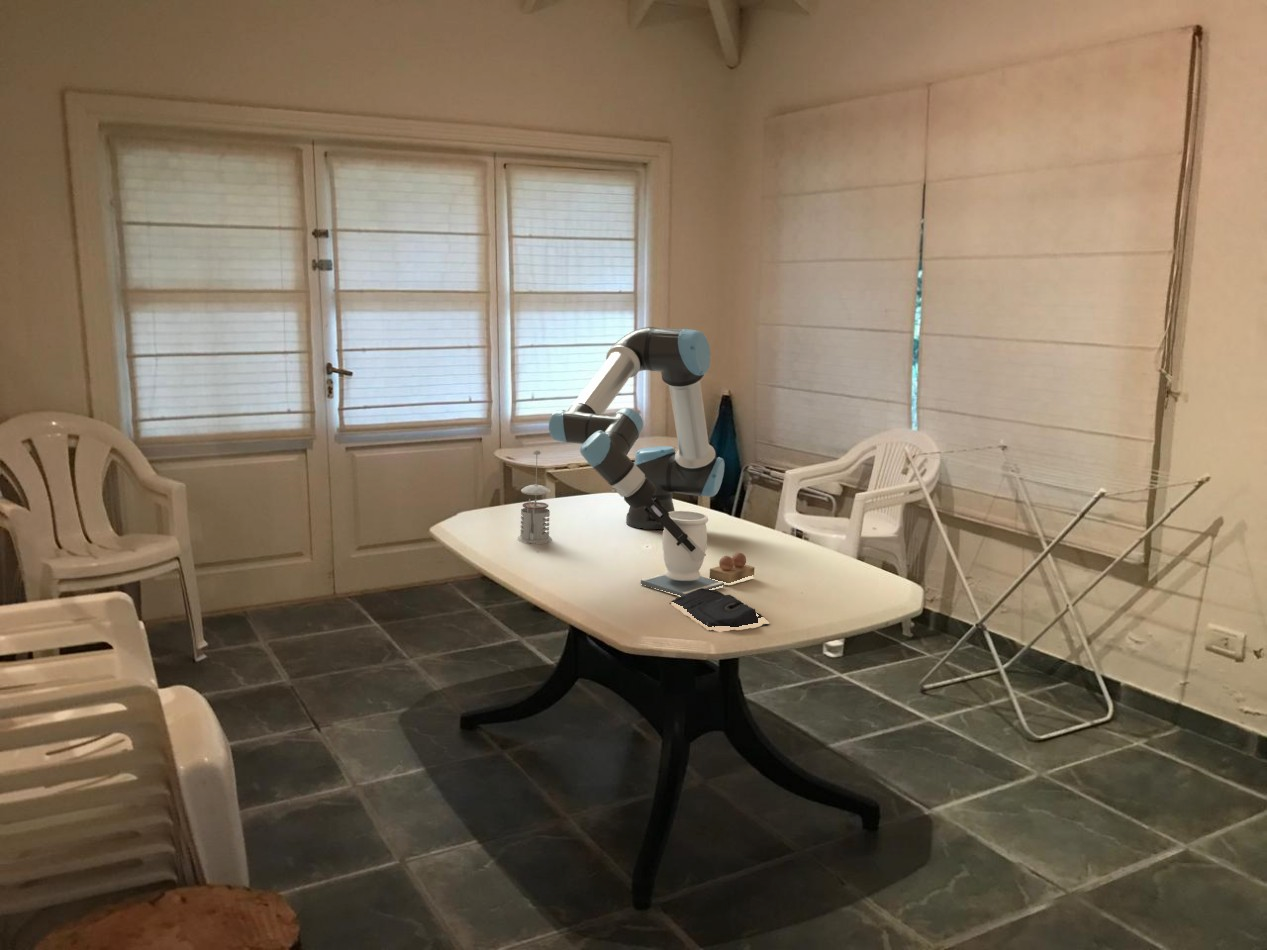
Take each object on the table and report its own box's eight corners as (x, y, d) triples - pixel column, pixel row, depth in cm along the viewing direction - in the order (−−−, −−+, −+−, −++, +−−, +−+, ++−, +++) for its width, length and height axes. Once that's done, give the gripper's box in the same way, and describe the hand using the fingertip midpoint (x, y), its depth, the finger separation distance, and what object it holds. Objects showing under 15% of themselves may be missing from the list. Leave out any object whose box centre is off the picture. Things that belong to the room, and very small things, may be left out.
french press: (555, 536, 285) (558, 447, 280) (547, 546, 273) (550, 455, 269) (520, 533, 286) (522, 445, 281) (511, 544, 274) (513, 452, 270)
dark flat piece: (722, 598, 237) (724, 578, 236) (774, 629, 218) (776, 607, 217) (664, 604, 231) (665, 584, 230) (712, 636, 211) (713, 614, 210)
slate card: (679, 574, 253) (679, 569, 253) (723, 587, 243) (723, 582, 243) (640, 584, 243) (641, 579, 243) (685, 599, 233) (685, 593, 233)
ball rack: (734, 573, 256) (736, 548, 255) (753, 578, 252) (755, 553, 251) (709, 580, 249) (710, 555, 248) (728, 586, 245) (730, 560, 244)
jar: (652, 577, 241) (656, 516, 238) (671, 567, 250) (675, 508, 247) (693, 585, 236) (697, 523, 233) (711, 575, 245) (715, 514, 242)
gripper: (614, 488, 247) (674, 550, 253) (631, 509, 225) (696, 577, 231) (637, 466, 247) (696, 529, 253) (655, 486, 225) (720, 554, 231)
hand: (696, 552), depth 242 cm, fingers closed on jar, 10 cm apart
